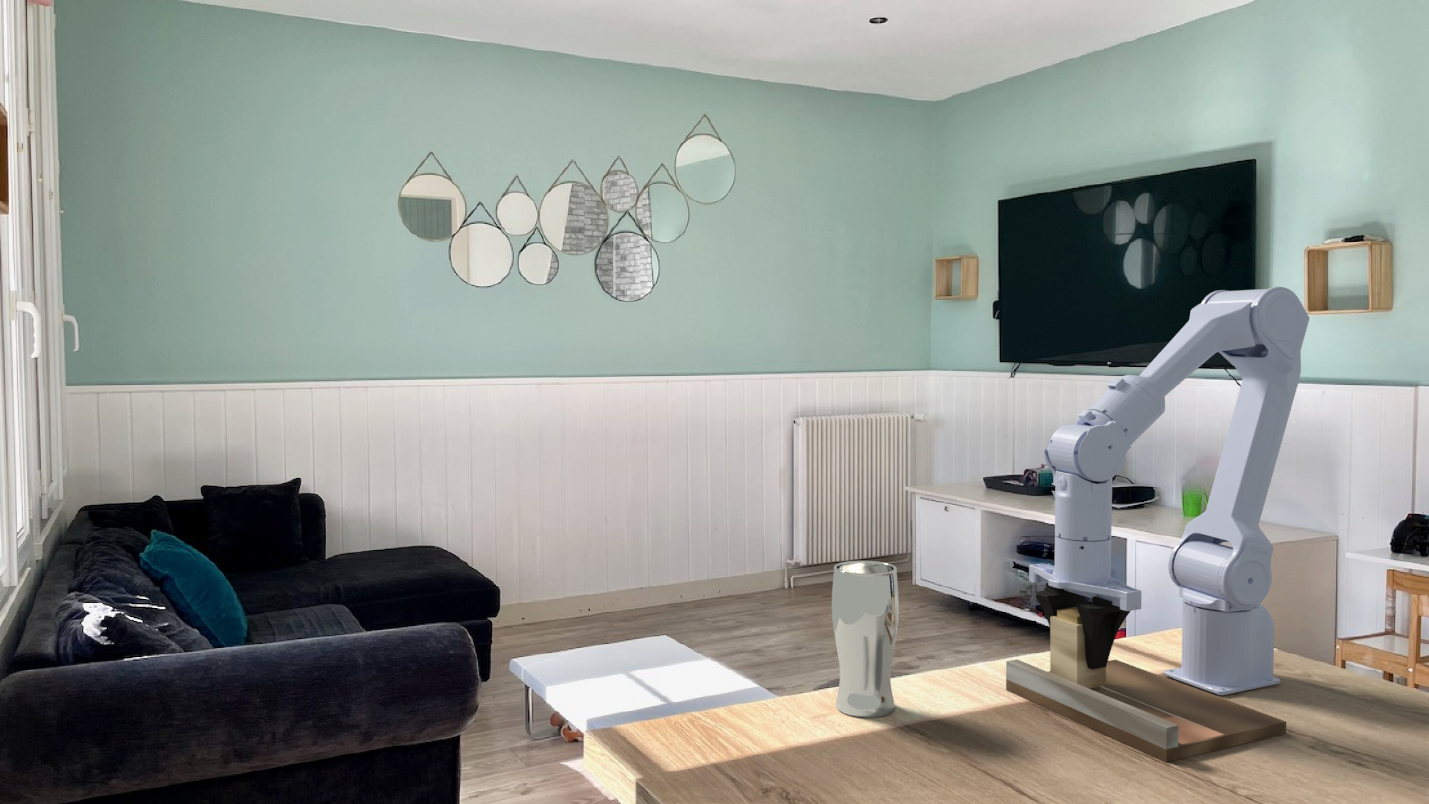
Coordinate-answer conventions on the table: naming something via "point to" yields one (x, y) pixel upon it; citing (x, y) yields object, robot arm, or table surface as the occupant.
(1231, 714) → the board
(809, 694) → the table surface
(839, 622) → the beer glass
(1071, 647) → the tan block
